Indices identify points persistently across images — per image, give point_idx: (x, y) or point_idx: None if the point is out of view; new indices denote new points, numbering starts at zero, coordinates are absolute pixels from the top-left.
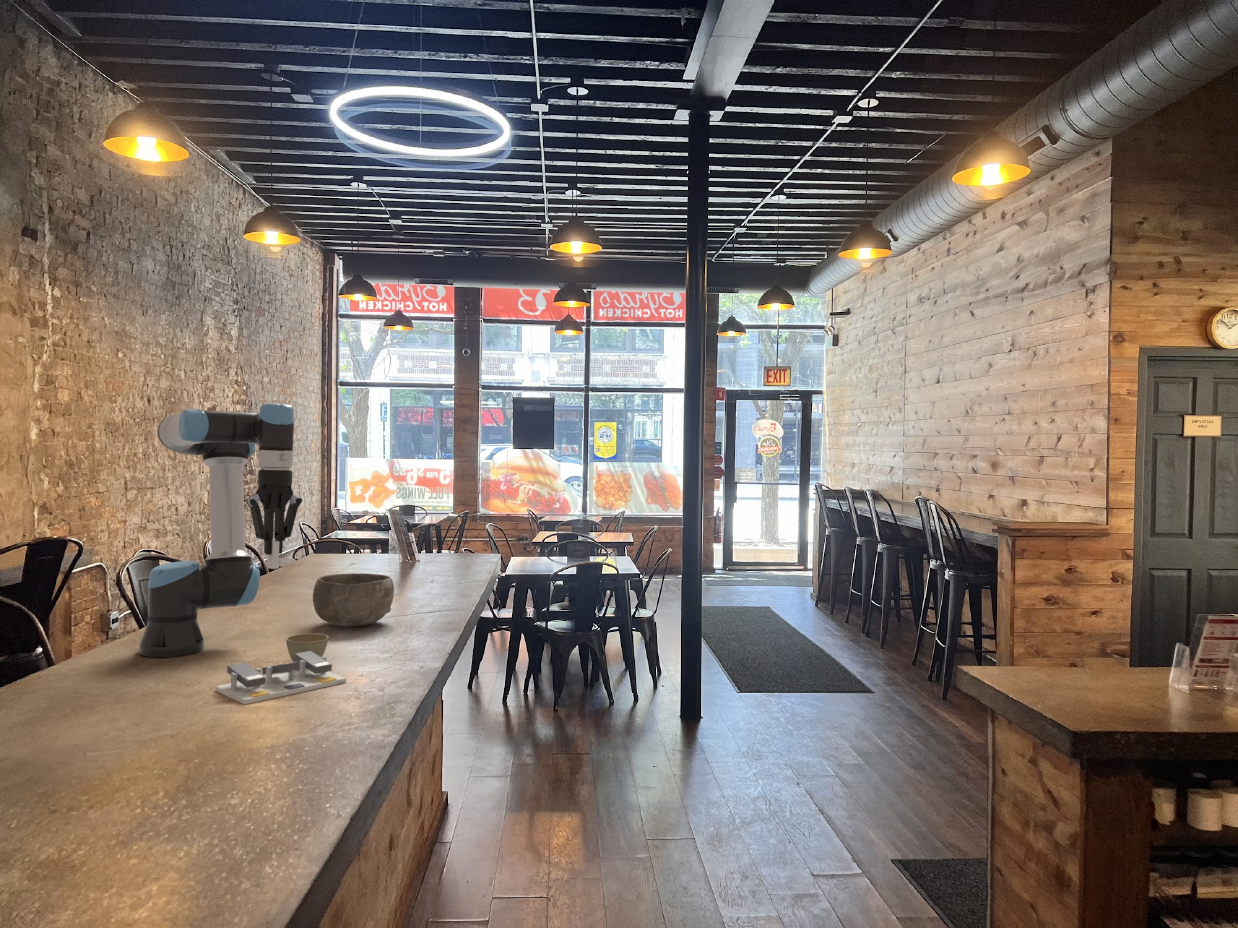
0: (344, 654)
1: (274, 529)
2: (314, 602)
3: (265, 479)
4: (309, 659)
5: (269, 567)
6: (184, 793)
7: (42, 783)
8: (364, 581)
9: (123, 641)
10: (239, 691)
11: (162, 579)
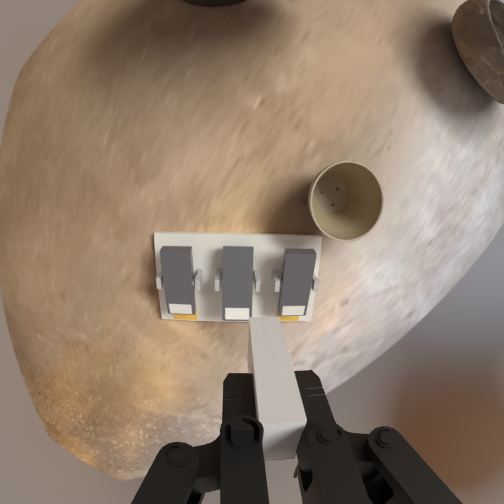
0: (403, 180)
1: (320, 490)
2: (459, 15)
3: None
4: (290, 286)
5: (248, 338)
6: (91, 423)
7: (25, 359)
8: None
9: None
10: None
11: None
